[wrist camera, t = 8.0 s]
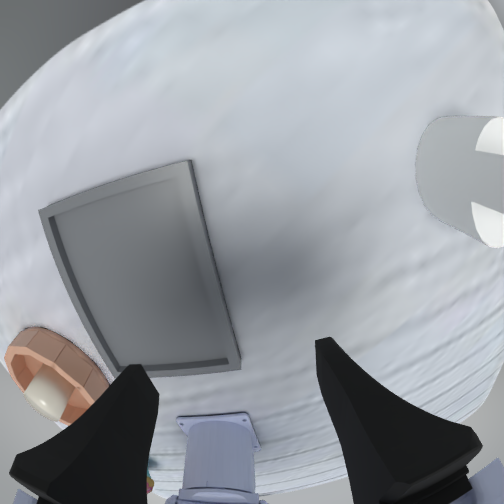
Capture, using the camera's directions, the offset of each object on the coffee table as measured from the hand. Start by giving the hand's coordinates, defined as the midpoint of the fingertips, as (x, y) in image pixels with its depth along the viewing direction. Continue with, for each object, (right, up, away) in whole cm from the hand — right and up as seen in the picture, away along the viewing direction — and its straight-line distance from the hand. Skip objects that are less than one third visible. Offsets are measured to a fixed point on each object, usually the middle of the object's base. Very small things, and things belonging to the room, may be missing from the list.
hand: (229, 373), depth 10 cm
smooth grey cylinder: (-20, -9, +12) cm, 25 cm away
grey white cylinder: (+17, +12, +7) cm, 22 cm away
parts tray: (-7, +2, +9) cm, 12 cm away
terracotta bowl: (-20, -9, +13) cm, 26 cm away
